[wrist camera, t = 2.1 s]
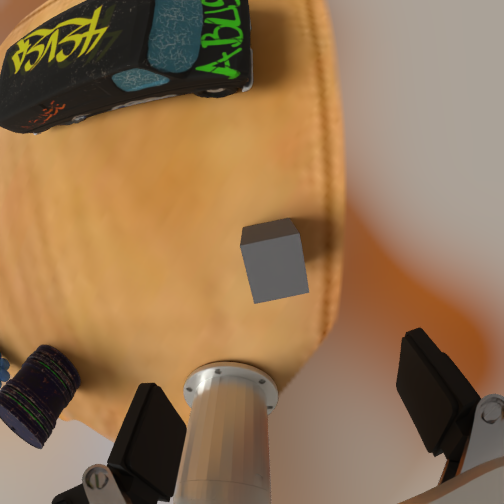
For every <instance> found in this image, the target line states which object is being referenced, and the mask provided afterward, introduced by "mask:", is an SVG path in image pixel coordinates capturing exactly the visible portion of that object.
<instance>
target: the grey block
mask: <svg viewBox="0 0 504 504" xmlns="http://www.w3.org/2000/svg"><path fill="white" fill-rule="evenodd" d="M240 248H241V252H242V256H243V260H244V264H245V268H246V272H247V276H248V280H249V284H250V288H251V292H252V296H253V300H254V304H256V303H261V302H266V301H271V300H276V299H281V298H286V297H291V296H295V295H300V294H305V293H309V288H308V282H307V275H306V269H305V262H304V256H303V250H302V244H301V239H300V233H299V232H298V230H297V229H296V227H295V226H294V224H293V223H292V221H291V220H290V218H285V219H280V220H276V221H271V222H266V223H261V224H257V225H252V226H247V227H243V229H242V236H241V243H240Z"/></svg>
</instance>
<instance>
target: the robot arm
mask: <svg viewBox="0 0 504 504" xmlns="http://www.w3.org/2000/svg"><path fill="white" fill-rule="evenodd" d="M396 387H397V391H398V393H399V395H400V397H401V399H402V401H403V403H404V404H405V406H406V408H407V410H408V412H409V414H410V416H411V418H412V420H413V422H414V424H415V426H416V428H417V430H418V432H419V434H420V436H421V439H422V441H423V443H424V445H425V447H426V449H427V451H428V452H429V453H433V455H434V457H436V456H438V455H439V454H442V453H444V455H445V457H446V459H447V461H446V464H445V467H444V469H443V472H442V475H441V477H440V480H439V482H438V485H437V486H436V487H434V488H432V489H430V490H428V491H426V492H424V493H422V494H419V495H417V496H415V497H412V498H410V499H408V500H405V501H403V502H400V503H398V504H504V397H503V396H501V395H498V394H490V395H487V396H485V397H484V398H482V399H481V398H480V396H479V395H478V394H477V392H476V391H475V390H474V388H473V387H472V386H471V384H470V383H469V382H468V380H467V379H466V378H465V376H464V375H463V374H462V373H461V371H460V370H459V369H458V367H457V366H456V365H455V364H454V362H453V361H452V360H451V359H450V358H449V356H447V354H445V353H443V352H441V351H440V350H439V348H438V347H437V346H436V345H435V343H434V342H433V341H432V340H431V339H430V338H429V337H428V335H427V334H426V333H425V332H424V331H423V329H422V328H416V329H414V330H411V331H408V332H406V334H405V337H403V338H402V343H401V352H400V361H399V369H398V375H397V382H396ZM184 398H185V400H186V402H187V404H188V405H189V406H190V408H191V412H190V417H189V421H188V426H187V428H186V425H185V423H184V422H183V420H182V419H181V417H180V416H179V414H178V413H177V412H176V410H175V409H174V407H173V406H172V404H171V403H170V401H169V400H168V398H167V396H166V395H165V393H164V392H163V390H162V389H161V387H160V386H157V385H156V384H155V383H141V384H140V385H139V387H138V389H137V391H136V394H135V396H134V398H133V400H132V403H131V405H130V407H129V410H128V412H127V414H126V417H125V419H124V421H123V424H122V426H121V429H120V431H119V433H118V436H117V438H116V441H115V443H114V446H113V448H112V451H111V453H110V456H109V458H108V461H107V463H108V464H107V466H105V465H102V464H95V465H92V466H90V467H88V468H87V469H86V471H85V472H84V474H83V477H82V484H80V485H78V486H76V487H74V488H72V489H70V490H67V491H65V492H63V493H61V494H58V495H57V496H55V498H54V499H53V501H52V504H157V501H164V502H169V501H170V497H172V496H173V503H174V504H271V482H270V460H269V437H268V415H269V414H270V413H271V412H272V411H273V410H274V409H275V407H276V405H277V403H278V399H279V398H278V389H277V386H276V384H275V382H274V381H273V379H272V378H271V377H270V376H269V375H267V374H266V373H265V372H263V371H262V370H260V369H257V368H255V367H253V366H250V365H247V364H243V363H237V362H216V363H211V364H207V365H204V366H202V367H199V368H197V369H196V370H194V371H193V372H192V373H191V374H190V375H189V376H188V378H187V380H186V382H185V385H184Z"/></svg>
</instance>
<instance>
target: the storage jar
mask: <svg viewBox="0 0 504 504" xmlns="http://www.w3.org/2000/svg"><path fill="white" fill-rule="evenodd" d="M80 383H81V380H80V376H79V374H78V372H77V370H76V368H75V367H74V365H73V364H72V363H71V362H70V361H69V360H68V358H67V357H65V356H64V355H63V354H62V353H61V352H60V351H58V350H57V349H55V348H53V347H51V346H49V345H40V346H39V347H38V348H37V350H36V351H34V353H32V354H31V355H30V356H29V357H28V358H27V360H26V361H25V363H24V364H23V365H22V368H21V369H20V370H19V372H18V373H17V374H16V375H15V376H14V377H13V379H10V380H9V381H7V382H6V385H5V386H3V387H2V389H1V390H0V418H1V419H2V420H3V422H4V423H5V424H6V425H7V426H8V427H9V428H10V429H11V430H12V431H13V432H14V433H16V434H17V435H18V436H19V437H20V438H22V439H23V440H24V441H26V442H27V443H28V444H30V445H32V446H34V447H36V448H38V449H42V448H43V446H44V442H46V441H47V439H48V438H49V436H50V435H51V433H52V430H53V429H54V428H55V425H56V420H57V419H58V417H59V415H60V414H61V412H62V410H63V409H64V408H66V407H67V405H68V403H69V402H70V401H71V400H72V398H73V397H74V394H75V392H76V389H78V388H79V386H80Z"/></svg>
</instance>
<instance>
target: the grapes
mask: <svg viewBox="0 0 504 504" xmlns="http://www.w3.org/2000/svg"><path fill="white" fill-rule="evenodd" d="M1 357H2V355H1V353H0V388H1V386H2V383H1V381H3V382H6V381H8V380H9V378H10V374H9V372H8V371H7V369H9V366H10V364H9V362H8V360H6V359H5V358H1Z"/></svg>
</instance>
